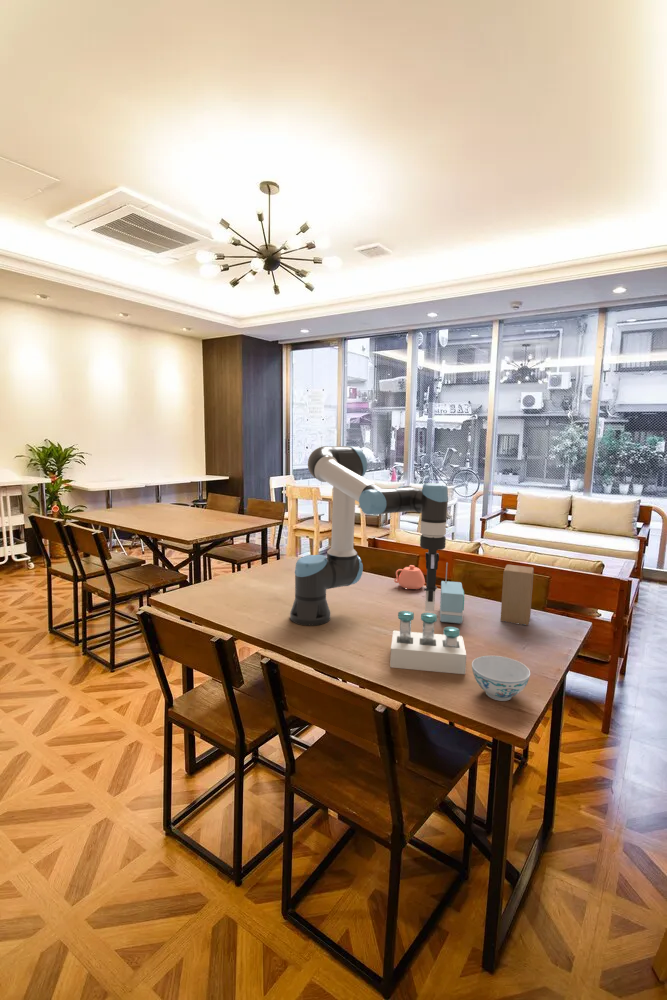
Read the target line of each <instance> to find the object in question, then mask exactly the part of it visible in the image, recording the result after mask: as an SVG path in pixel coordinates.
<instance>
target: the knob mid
mask: <svg viewBox="0 0 667 1000" xmlns="http://www.w3.org/2000/svg"><path fill="white" fill-rule="evenodd" d="M420 620H421V621H422V633H423V636H422V645H429V646H433V641H434V634H435V623H436V622H437V621H438V615H437V614H436V613H434V612H423V613H421V614H420Z"/></svg>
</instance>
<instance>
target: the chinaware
mask: <svg viewBox="0 0 667 1000" xmlns="http://www.w3.org/2000/svg"><path fill="white" fill-rule="evenodd" d="M471 669H472V673H473V677H474V679H475V681H476V683H477V684H478V686H479V687H480V688H481V689H482V690H483V691H484V692H485V694H486V696H488V697H489V698H490V699H493V700H495V701H498V702H499V701H500V702H506V701H509V700H512V697H514V696H517V695H519V694H520V693H521V692H522V691H523V690H524V689H525V688H526V686H527V684H528V682H529V680H530V677H531V671H530V668H529V667H528V666H526V664H524V663H522V662H521V661H519V660H516V659H514V658H510V657H507V656H501V655H483V656H479V657H476V658H474V659H473V660H472V662H471Z"/></svg>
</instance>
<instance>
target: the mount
mask: <svg viewBox="0 0 667 1000" xmlns="http://www.w3.org/2000/svg"><path fill="white" fill-rule="evenodd" d="M422 636H423V632H419V631H418V632H416V631H411V641H410V644H406V643H399V640H400V630H393V631H392V635H391V637H392V638H391V645H390V659H389V660H390V662H389V665H390V668H393V669H394V668H396V669H404V670H405V669H406V670H415V671H424V672H425V671H427V672H436V673H447V674H457V675H466V671H467V670H466V668H467V667H466V666H467V651H466V648H465V647H466V646H465V642H464V638H463V636H462V635H459V636H458V637H457V647H456V648H452V647H445V640H446V635H444V634H440V633H434V641H433V646H429V645H422Z"/></svg>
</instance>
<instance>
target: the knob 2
mask: <svg viewBox="0 0 667 1000" xmlns="http://www.w3.org/2000/svg"><path fill="white" fill-rule="evenodd" d="M460 632H461V631H460V628H458V627H455V626H446V627H444V628H443V635H446V640H445V647H452V648H456V647H457V637H458V636H461V635H460Z"/></svg>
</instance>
